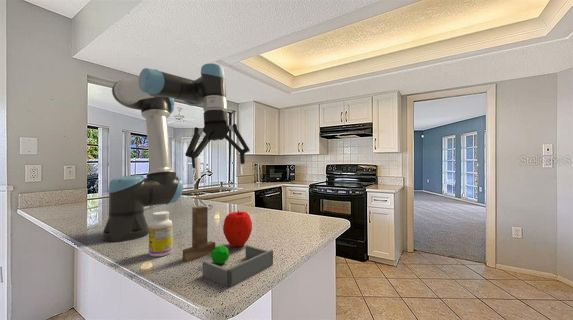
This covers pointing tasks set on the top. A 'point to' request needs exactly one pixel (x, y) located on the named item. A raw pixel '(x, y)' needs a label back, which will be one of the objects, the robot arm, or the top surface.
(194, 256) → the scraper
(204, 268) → the tray
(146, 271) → the top surface
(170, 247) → the supplement bottle
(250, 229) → the apple
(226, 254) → the polyhedron
